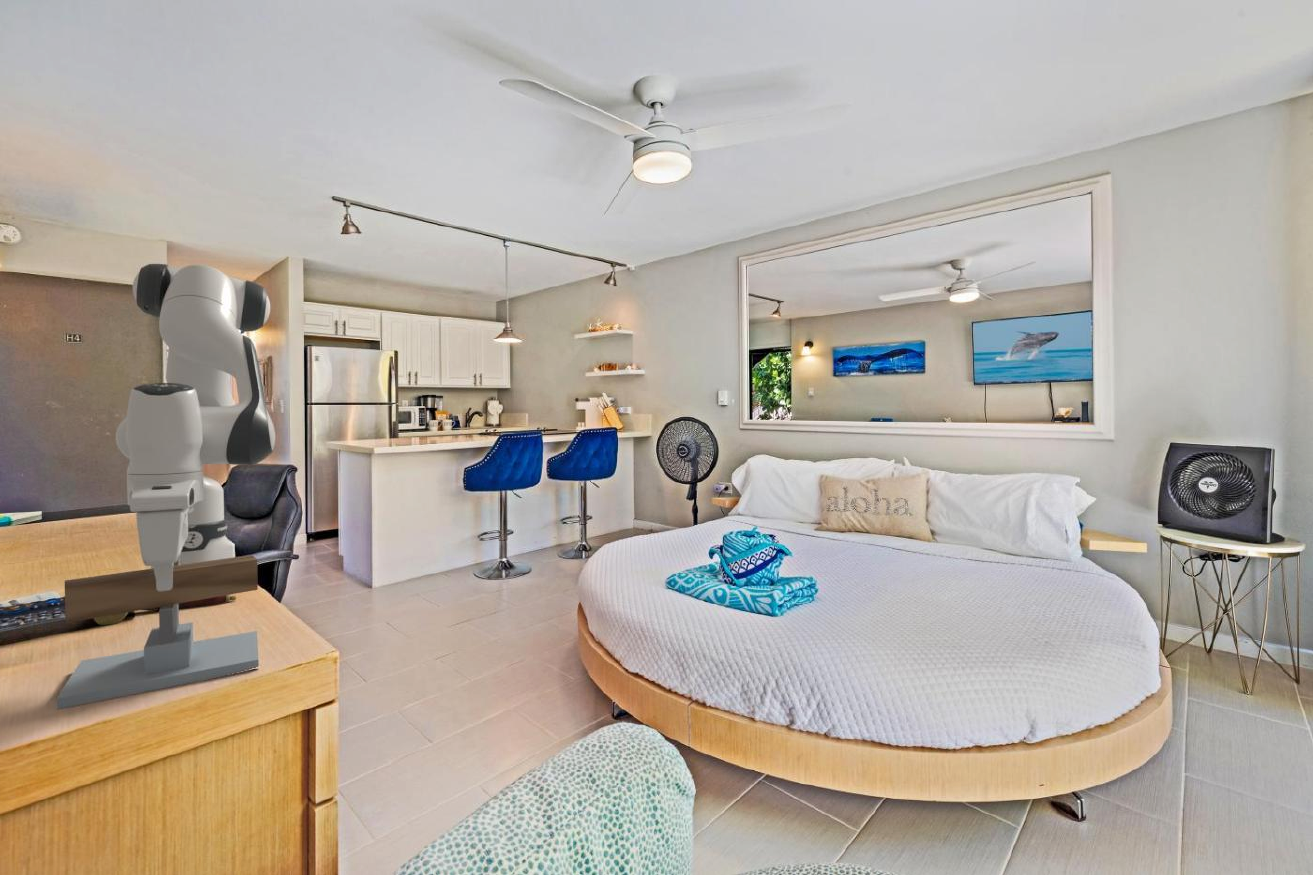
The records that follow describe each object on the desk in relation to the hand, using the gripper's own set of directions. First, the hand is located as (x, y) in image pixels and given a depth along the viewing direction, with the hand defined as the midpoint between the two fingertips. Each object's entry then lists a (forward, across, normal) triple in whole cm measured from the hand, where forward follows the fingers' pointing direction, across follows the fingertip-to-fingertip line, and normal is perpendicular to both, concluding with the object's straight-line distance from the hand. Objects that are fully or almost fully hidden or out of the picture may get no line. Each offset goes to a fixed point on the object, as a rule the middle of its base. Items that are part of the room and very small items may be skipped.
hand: (168, 581), depth 89 cm
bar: (+3, 0, 0) cm, 3 cm away
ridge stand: (+14, 0, 0) cm, 14 cm away
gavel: (+14, -35, -3) cm, 38 cm away
